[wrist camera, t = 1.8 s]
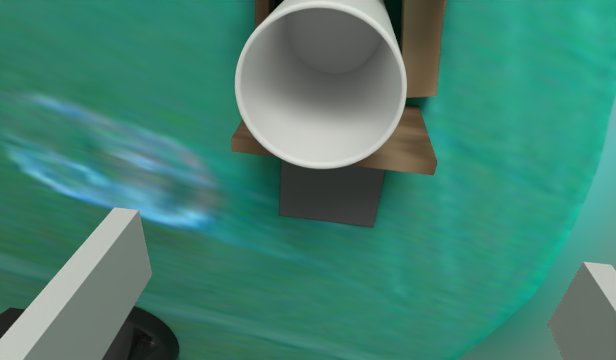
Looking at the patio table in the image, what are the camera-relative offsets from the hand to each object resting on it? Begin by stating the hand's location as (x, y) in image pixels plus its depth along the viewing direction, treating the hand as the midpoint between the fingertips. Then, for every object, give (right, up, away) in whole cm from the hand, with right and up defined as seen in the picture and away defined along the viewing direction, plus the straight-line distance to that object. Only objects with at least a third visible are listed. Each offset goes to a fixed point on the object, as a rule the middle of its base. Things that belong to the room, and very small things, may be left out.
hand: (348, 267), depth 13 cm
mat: (+1, +3, +28) cm, 28 cm away
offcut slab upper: (+7, +14, +19) cm, 25 cm away
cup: (+1, +15, +20) cm, 26 cm away
